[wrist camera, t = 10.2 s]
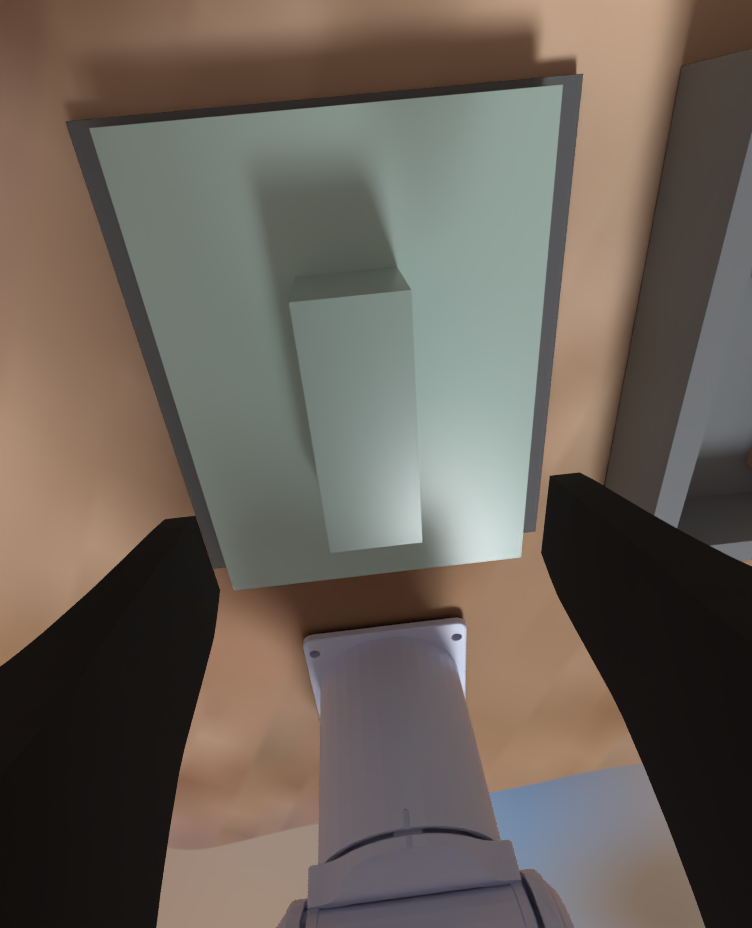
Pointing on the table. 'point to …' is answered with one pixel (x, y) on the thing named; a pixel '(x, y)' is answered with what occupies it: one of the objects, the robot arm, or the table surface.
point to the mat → (97, 180)
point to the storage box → (696, 323)
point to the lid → (349, 321)
